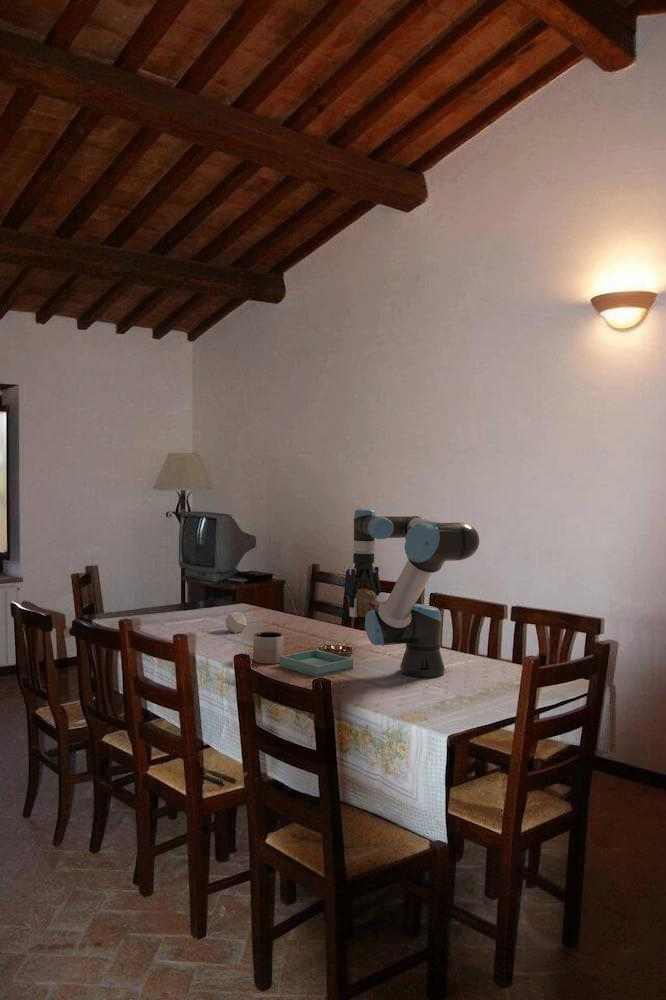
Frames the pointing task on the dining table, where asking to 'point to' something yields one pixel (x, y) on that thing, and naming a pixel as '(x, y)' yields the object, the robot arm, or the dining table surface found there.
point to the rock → (365, 602)
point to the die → (235, 622)
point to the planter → (268, 647)
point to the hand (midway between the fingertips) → (362, 615)
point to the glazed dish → (316, 663)
